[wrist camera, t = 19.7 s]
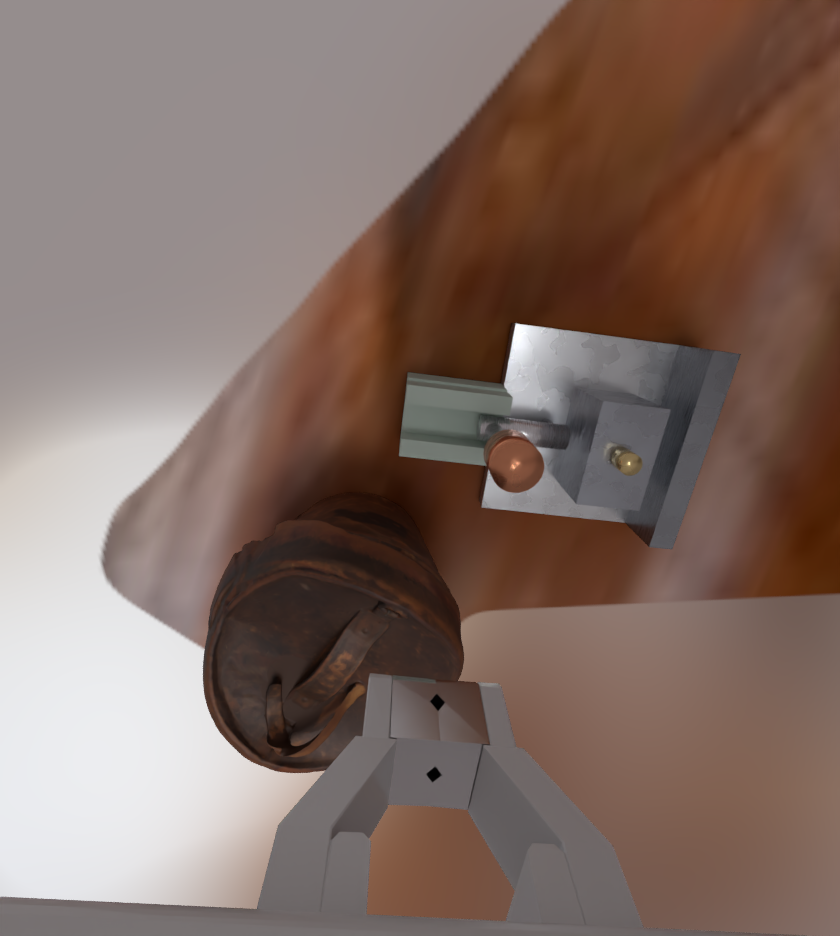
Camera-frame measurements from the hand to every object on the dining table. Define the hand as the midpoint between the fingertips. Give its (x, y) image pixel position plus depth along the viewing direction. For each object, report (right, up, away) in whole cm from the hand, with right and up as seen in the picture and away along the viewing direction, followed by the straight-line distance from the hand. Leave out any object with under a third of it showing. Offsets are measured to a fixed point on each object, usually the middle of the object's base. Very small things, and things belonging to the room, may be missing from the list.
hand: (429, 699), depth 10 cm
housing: (+15, +8, +29) cm, 33 cm away
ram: (+8, +8, +27) cm, 29 cm away
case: (-6, -3, +34) cm, 35 cm away
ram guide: (+2, +10, +29) cm, 31 cm away
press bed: (+14, +9, +30) cm, 35 cm away
